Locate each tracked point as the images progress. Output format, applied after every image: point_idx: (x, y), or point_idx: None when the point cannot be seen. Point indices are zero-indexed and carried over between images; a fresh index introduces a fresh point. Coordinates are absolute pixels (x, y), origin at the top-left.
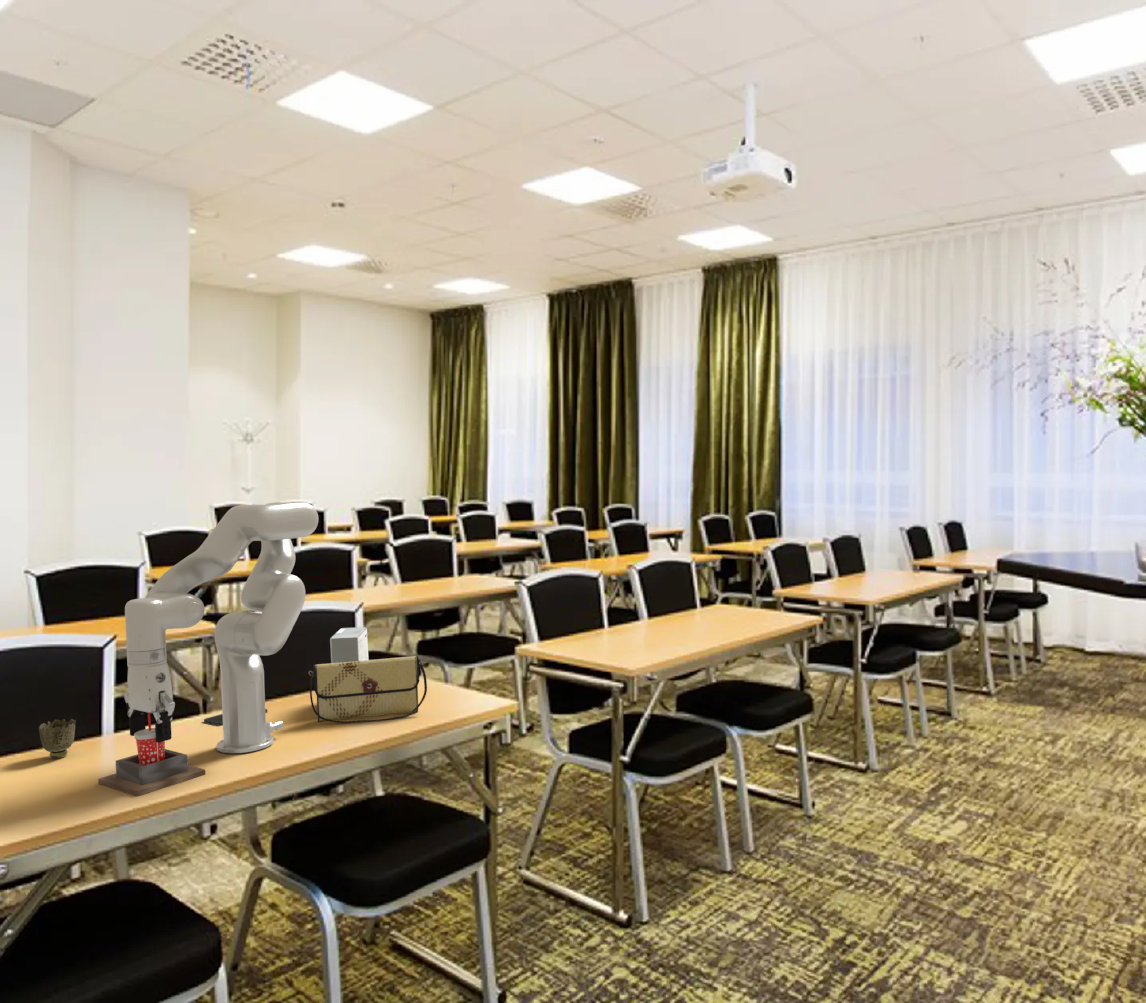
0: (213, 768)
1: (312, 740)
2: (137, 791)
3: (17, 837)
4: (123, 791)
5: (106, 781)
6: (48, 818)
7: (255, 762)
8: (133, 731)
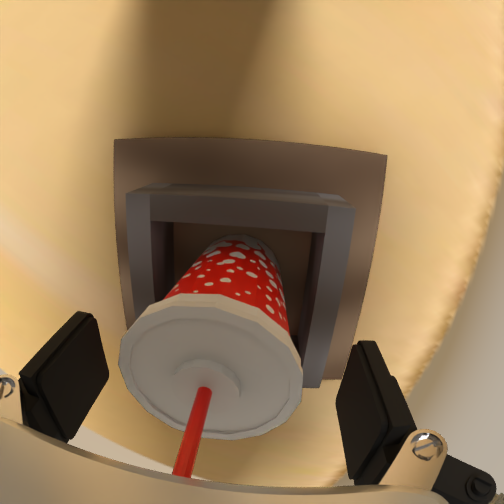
0: (351, 93)
1: None
2: (340, 378)
3: None
4: None
5: None
6: (268, 470)
7: (422, 8)
8: (99, 383)
